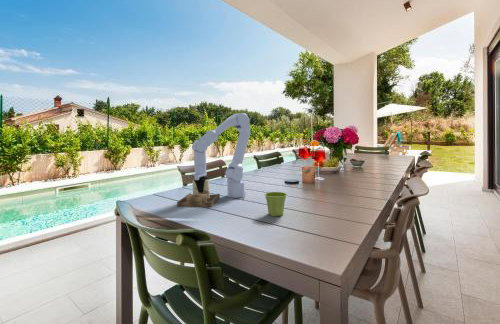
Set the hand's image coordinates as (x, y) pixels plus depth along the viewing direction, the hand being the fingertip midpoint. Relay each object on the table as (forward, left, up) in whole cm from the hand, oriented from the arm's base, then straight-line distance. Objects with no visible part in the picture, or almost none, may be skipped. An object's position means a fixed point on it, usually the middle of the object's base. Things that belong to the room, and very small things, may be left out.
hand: (201, 191), depth 140 cm
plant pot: (-37, +18, -5) cm, 41 cm away
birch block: (0, 0, -3) cm, 3 cm away
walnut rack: (0, +3, -5) cm, 6 cm away
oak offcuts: (0, +8, -4) cm, 9 cm away
